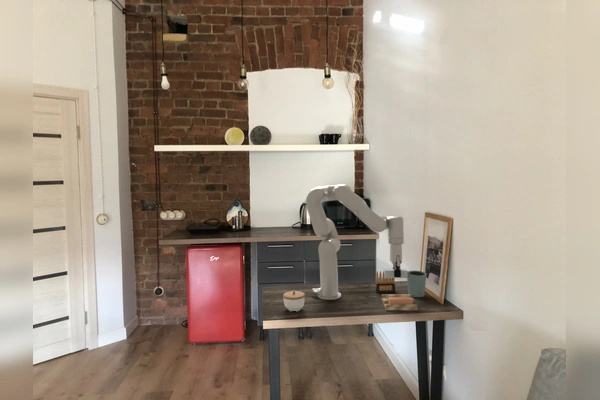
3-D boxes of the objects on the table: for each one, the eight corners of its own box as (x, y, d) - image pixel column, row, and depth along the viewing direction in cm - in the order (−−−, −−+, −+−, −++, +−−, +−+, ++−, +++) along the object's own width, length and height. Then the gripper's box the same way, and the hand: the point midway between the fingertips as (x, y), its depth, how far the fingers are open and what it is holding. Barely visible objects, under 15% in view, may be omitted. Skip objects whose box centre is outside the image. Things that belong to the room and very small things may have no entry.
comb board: (385, 310, 182) (385, 305, 181) (381, 299, 198) (381, 294, 197) (417, 310, 180) (417, 305, 180) (410, 299, 196) (410, 294, 196)
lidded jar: (307, 306, 190) (306, 288, 190) (302, 313, 180) (302, 294, 179) (286, 305, 193) (286, 287, 192) (281, 312, 182) (280, 293, 182)
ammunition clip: (394, 291, 211) (394, 270, 210) (395, 292, 209) (395, 271, 208) (375, 291, 211) (375, 270, 210) (376, 292, 209) (375, 271, 208)
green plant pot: (406, 291, 209) (405, 270, 208) (425, 292, 207) (425, 270, 206) (407, 297, 199) (407, 275, 198) (427, 298, 197) (427, 275, 196)
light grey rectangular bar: (385, 277, 191) (385, 270, 191) (384, 275, 195) (384, 268, 194) (409, 278, 190) (410, 271, 190) (408, 276, 193) (408, 269, 193)
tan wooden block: (389, 306, 183) (389, 299, 183) (388, 304, 187) (388, 297, 186) (415, 306, 182) (415, 299, 182) (413, 304, 185) (413, 297, 185)
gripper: (386, 238, 200) (387, 272, 201) (390, 243, 183) (391, 280, 184) (400, 237, 199) (401, 271, 200) (406, 243, 182) (407, 280, 184)
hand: (396, 275), depth 192 cm, fingers closed on light grey rectangular bar, 3 cm apart
